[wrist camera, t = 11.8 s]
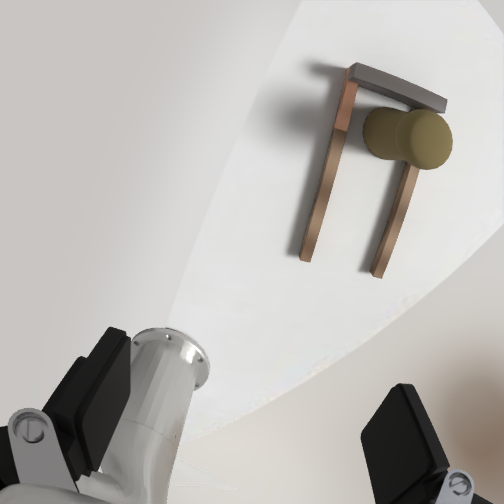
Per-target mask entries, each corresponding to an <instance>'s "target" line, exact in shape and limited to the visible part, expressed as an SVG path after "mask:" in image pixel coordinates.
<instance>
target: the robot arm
mask: <svg viewBox="0 0 504 504" xmlns="http://www.w3.org/2000/svg"><path fill="white" fill-rule="evenodd" d="M209 370H210V365H209V361H208V358H207V356H206V354H205V352H204V351H203V349H202V348H201V347H200V346H199V345H198V344H197V343H196V342H195V341H193V340H192V339H191V338H189V337H187V336H186V335H184V334H182V333H179V332H177V331H174V330H170V329H165V328H150V329H146V330H143V331H141V332H139V333H138V334H137V335H136V336H135V337H134V338H133V339H132V341H131V338H130V337H128V336H126V332H125V331H123V330H120V329H117V328H113V327H109V328H108V329H107V330H106V332H105V333H104V335H103V336H102V337H101V339H100V340H99V342H98V343H97V344H96V346H95V347H94V349H93V350H92V352H91V353H90V355H89V356H88V357H87V358H85V357H82V356H80V357H78V358H77V360H76V361H75V362H74V364H73V365H72V367H71V368H70V369H69V371H68V372H67V374H66V375H65V376H64V378H63V379H62V381H61V382H60V384H59V385H58V387H57V388H56V390H55V391H54V392H53V394H52V395H51V397H50V399H49V400H48V402H47V403H46V405H45V406H44V407H43V409H42V411H40V410H38V409H34V408H24V409H21V410H18V411H17V412H15V413H14V414H13V415H12V416H11V418H10V419H9V422H8V426H4V427H0V504H167V495H168V488H169V482H170V478H171V473H172V469H173V465H174V461H175V457H176V453H177V449H178V446H179V442H180V438H181V434H182V431H183V427H184V423H185V419H186V416H187V412H188V408H189V405H190V401H191V397H192V394H193V391H195V390H197V389H199V388H200V387H201V386H203V385H204V383H205V382H206V381H207V378H208V375H209ZM361 443H362V447H363V450H364V455H365V458H366V463H367V467H368V471H369V476H370V480H371V484H372V489H373V493H374V498H375V503H376V504H493V503H491V502H489V501H487V500H485V499H484V498H482V497H480V496H478V495H477V494H475V493H474V487H475V486H474V481H473V479H472V478H471V476H470V475H469V474H468V473H466V472H465V471H463V470H460V469H454V470H451V471H450V472H448V471H447V469H448V468H449V467H450V465H449V462H448V460H447V457H446V455H445V453H444V451H443V448H442V446H441V443H440V441H439V439H438V437H437V434H436V432H435V430H434V428H433V425H432V423H431V421H430V419H429V417H428V415H427V412H426V410H425V408H424V406H423V404H422V402H421V400H420V398H419V395H418V393H417V392H416V389H415V387H414V386H413V385H412V384H401V383H399V384H397V385H396V386H395V387H393V388H392V389H391V390H390V392H389V393H388V395H387V396H386V398H385V399H384V401H383V402H382V404H381V405H380V407H379V408H378V409H377V411H376V412H375V414H374V415H373V417H372V418H371V419H370V421H369V422H368V424H367V425H366V426H365V428H364V429H363V431H362V433H361ZM100 466H101V469H102V472H103V474H102V473H100V472H98V469H99V467H100Z"/></svg>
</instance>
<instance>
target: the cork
mask: <svg viewBox="0 0 504 504" xmlns="http://www.w3.org/2000/svg"><path fill="white" fill-rule="evenodd" d="M363 137H364V142H365V144H366V146H367V147H368V149H369V150H370V151H371V152H372V153H373V154H374V155H375V156H377V157H379V158H381V159H385V160H406V161H407V162H408V163H409V164H410V165H412V166H414V167H416V168H418V169H423V170H430V169H435V168H438V167H439V166H441V165H443V164H444V163H445V162H446V160H447V159H448V158H449V156H450V153H451V151H452V144H453V140H452V133H451V130H450V128H449V126H448V124H447V123H446V121H445V120H444V119H443V118H442V117H441V116H439V115H438V114H436V113H435V112H433V111H430V110H426V109H419V110H413V111H411V112H409V113H408V112H405V111H401V110H398V109H394V108H390V107H382V108H378V109H376V110H374V111H372V112H371V113H370V114H369V115H368V117H367V118H366V120H365V123H364V125H363Z"/></svg>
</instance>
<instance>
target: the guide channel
mask: <svg viewBox="0 0 504 504" xmlns="http://www.w3.org/2000/svg"><path fill="white" fill-rule="evenodd" d="M358 86H359V87H362V88H365V89H368V90H371V91H374V92H377V93H379V94H382V95H385V96H388V97H390V98H393V99H395V100H398V101H401V102H403V103H406V104H408V105H410V106H413V107H415V108H418V109H426V110H430V111H433V112H435V113H445V110H446V105H447V99H445V98H443V97H441V96H439V95H437V94H435V93H433V92H431V91H428V90H426V89H424V88H422V87H420V86H417V85H415V84H413V83H410V82H408V81H406V80H403V79H401V78H398V77H396V76H393V75H391V74H388V73H386V72H383V71H380V70H377V69H375V68H372V67H369V66H366V65H363V64H360V63H357V62H356V63H355V64H353V65H352V66H350V67H349V68H347V72H346V77H345V81H344V85H343V90H342V94H341V98H340V103H339V107H338V111H337V115H336V119H335V123H334V127H333V131H332V135H331V139H330V143H329V147H328V151H327V155H326V159H325V163H324V167H323V171H322V174H321V178H320V182H319V186H318V189H317V193H316V197H315V200H314V204H313V207H312V211H311V215H310V218H309V222H308V225H307V229H306V232H305V236H304V239H303V243H302V246H301V250H300V253H299V258H300V260H301V261H305V262H310V261H311V258H312V255H313V251H314V248H315V245H316V242H317V238H318V235H319V232H320V228H321V225H322V222H323V218H324V215H325V211H326V208H327V204H328V201H329V197H330V194H331V190H332V187H333V183H334V179H335V176H336V172H337V168H338V165H339V161H340V157H341V153H342V149H343V146H344V142H345V138H346V134H347V130H348V126H349V122H350V118H351V114H352V109H353V105H354V101H355V97H356V92H357V88H358ZM419 170H420V169H418V168H416V167H414V166H412V165H410V164H409V163H408V162H407V161H406V165H405V168H404V172H403V175H402V178H401V182H400V185H399V188H398V192H397V195H396V198H395V201H394V204H393V208H392V211H391V214H390V217H389V220H388V223H387V226H386V228H385V231H384V234H383V237H382V240H381V243H380V245H379V248H378V251H377V254H376V256H375V259H374V262H373V264H372V267H371V270H370V272H371V274H372V276H373V277H377V278H381V279H382V277H383V274H384V272H385V269H386V267H387V264H388V262H389V259H390V257H391V254H392V251H393V249H394V246H395V243H396V241H397V238H398V235H399V232H400V229H401V227H402V224H403V221H404V218H405V215H406V212H407V209H408V206H409V203H410V200H411V197H412V193H413V190H414V187H415V184H416V180H417V177H418V173H419Z"/></svg>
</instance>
